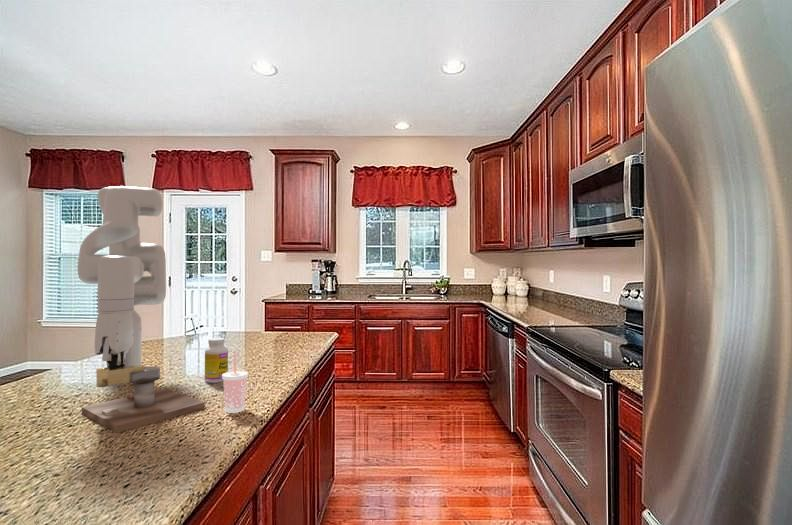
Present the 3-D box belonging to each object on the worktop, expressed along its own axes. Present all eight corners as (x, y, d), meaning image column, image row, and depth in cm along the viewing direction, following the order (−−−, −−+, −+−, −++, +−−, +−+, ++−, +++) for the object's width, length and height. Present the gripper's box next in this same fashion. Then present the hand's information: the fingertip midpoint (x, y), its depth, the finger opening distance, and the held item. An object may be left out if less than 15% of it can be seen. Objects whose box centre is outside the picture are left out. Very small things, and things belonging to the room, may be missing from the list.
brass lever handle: (97, 390, 101) (97, 372, 101) (95, 383, 106) (95, 366, 106) (162, 380, 109) (162, 364, 109) (157, 374, 114) (157, 359, 114)
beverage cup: (232, 415, 107) (232, 357, 106) (216, 411, 110) (216, 354, 110) (253, 408, 112) (253, 352, 112) (237, 404, 115) (237, 350, 115)
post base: (81, 413, 108) (81, 384, 108) (165, 393, 124) (165, 368, 124) (116, 432, 96) (116, 400, 96) (204, 408, 112) (204, 380, 112)
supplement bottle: (219, 384, 133) (219, 341, 133) (199, 382, 135) (200, 340, 134) (232, 378, 140) (232, 337, 140) (213, 377, 141) (213, 336, 141)
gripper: (114, 302, 116) (114, 373, 116) (82, 309, 101) (82, 390, 101) (145, 302, 117) (145, 372, 117) (117, 309, 102) (117, 389, 102)
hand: (116, 380), depth 109 cm, fingers closed
